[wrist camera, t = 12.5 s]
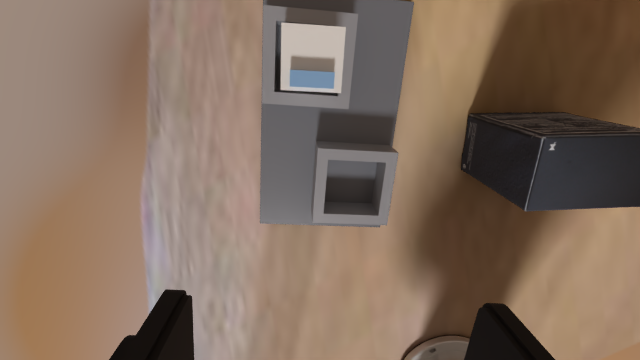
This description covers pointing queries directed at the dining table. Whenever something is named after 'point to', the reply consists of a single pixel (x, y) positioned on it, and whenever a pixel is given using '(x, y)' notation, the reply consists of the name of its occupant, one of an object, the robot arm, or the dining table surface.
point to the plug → (312, 57)
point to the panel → (333, 117)
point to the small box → (554, 160)
